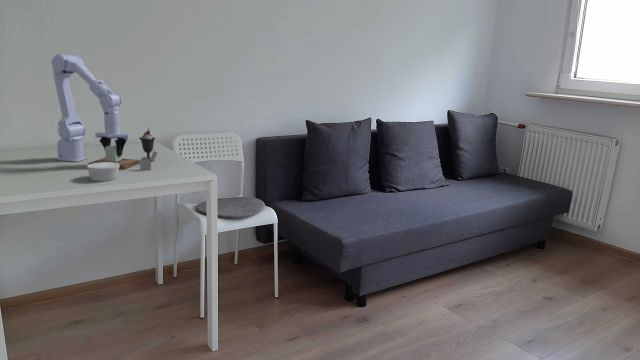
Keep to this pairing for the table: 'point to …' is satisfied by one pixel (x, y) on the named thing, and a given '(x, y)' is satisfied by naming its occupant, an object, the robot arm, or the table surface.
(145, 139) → the sundae
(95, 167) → the ramekin
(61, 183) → the table surface
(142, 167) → the lighter
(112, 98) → the robot arm
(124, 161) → the board
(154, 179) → the table surface
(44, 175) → the table surface
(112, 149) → the block
